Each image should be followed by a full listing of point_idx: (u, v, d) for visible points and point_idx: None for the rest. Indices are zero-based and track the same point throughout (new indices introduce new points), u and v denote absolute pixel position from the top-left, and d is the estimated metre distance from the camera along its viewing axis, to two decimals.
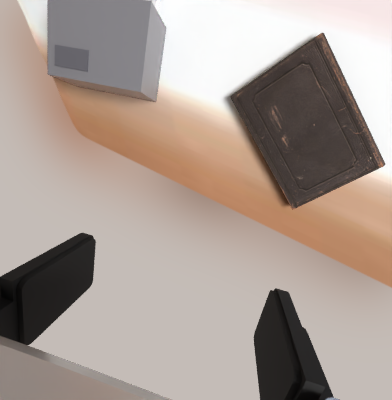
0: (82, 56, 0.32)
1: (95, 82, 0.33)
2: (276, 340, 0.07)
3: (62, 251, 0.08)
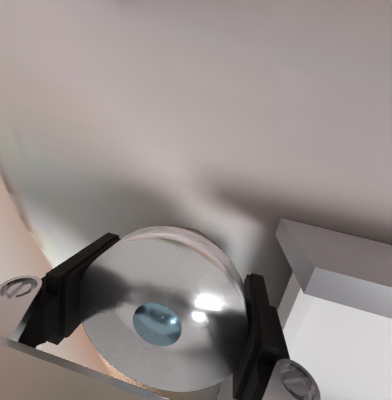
0: None
1: None
2: None
3: (95, 250, 0.09)
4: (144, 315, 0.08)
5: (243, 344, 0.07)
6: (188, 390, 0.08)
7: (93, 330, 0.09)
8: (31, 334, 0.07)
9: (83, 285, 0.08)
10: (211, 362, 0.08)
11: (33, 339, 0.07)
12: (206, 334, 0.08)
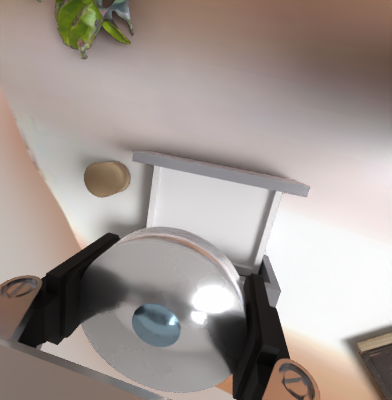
0: None
1: None
2: (246, 316, 0.08)
3: (95, 250, 0.09)
4: (143, 316, 0.08)
5: (242, 345, 0.07)
6: (187, 391, 0.08)
7: (92, 331, 0.09)
8: (31, 334, 0.07)
9: (82, 286, 0.08)
10: (210, 363, 0.08)
11: (33, 339, 0.07)
12: (205, 335, 0.08)
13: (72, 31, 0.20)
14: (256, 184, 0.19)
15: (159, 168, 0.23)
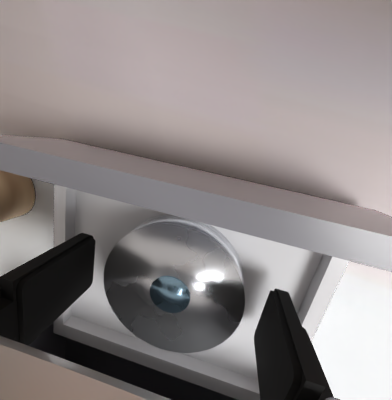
0: None
1: None
2: (276, 340, 0.07)
3: (62, 251, 0.08)
4: (159, 287, 0.10)
5: (240, 309, 0.09)
6: (195, 351, 0.10)
7: (115, 301, 0.10)
8: None
9: (108, 262, 0.10)
10: (214, 325, 0.09)
11: None
12: (210, 301, 0.09)
13: None
14: (301, 241, 0.06)
15: None
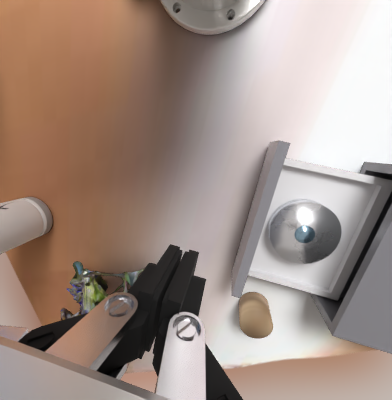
0: None
1: None
2: None
3: (168, 263, 0.09)
4: (301, 238, 0.21)
5: (312, 204, 0.20)
6: (339, 225, 0.20)
7: (309, 259, 0.22)
8: (117, 358, 0.07)
9: (287, 259, 0.22)
10: (322, 215, 0.20)
11: (129, 355, 0.07)
12: (308, 216, 0.21)
13: None
14: (271, 192, 0.19)
15: (248, 270, 0.24)
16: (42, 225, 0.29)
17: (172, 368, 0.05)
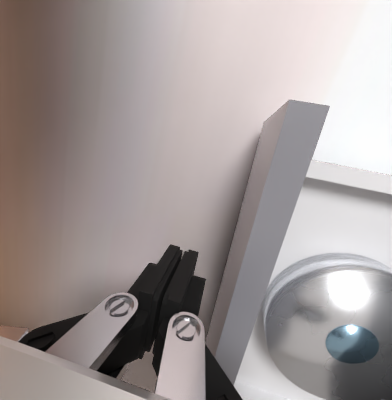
0: None
1: None
2: None
3: (168, 264, 0.09)
4: (341, 351, 0.09)
5: (375, 277, 0.08)
6: None
7: (360, 397, 0.09)
8: (117, 358, 0.07)
9: (307, 390, 0.10)
10: None
11: (129, 355, 0.07)
12: (363, 306, 0.08)
13: None
14: (269, 260, 0.06)
15: None
16: None
17: (172, 368, 0.05)
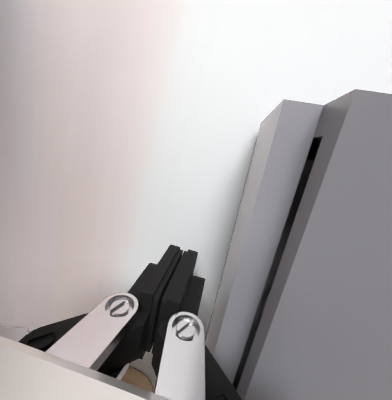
0: None
1: None
2: None
3: (169, 264, 0.09)
4: None
5: None
6: None
7: None
8: (117, 358, 0.07)
9: None
10: None
11: (130, 355, 0.07)
12: None
13: None
14: (265, 259, 0.06)
15: None
16: None
17: (171, 368, 0.05)
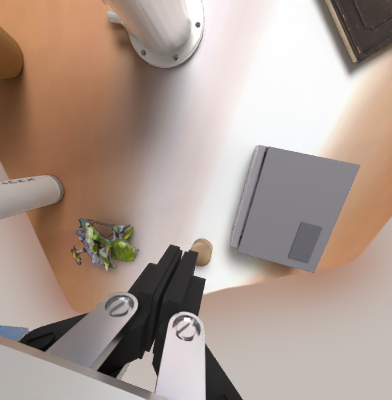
0: (306, 230, 0.29)
1: (335, 220, 0.29)
2: None
3: (168, 263, 0.09)
4: None
5: None
6: None
7: None
8: (117, 358, 0.07)
9: None
10: None
11: (129, 355, 0.07)
12: None
13: (128, 254, 0.40)
14: (255, 176, 0.30)
15: (242, 232, 0.36)
16: (57, 194, 0.42)
17: (172, 368, 0.05)
